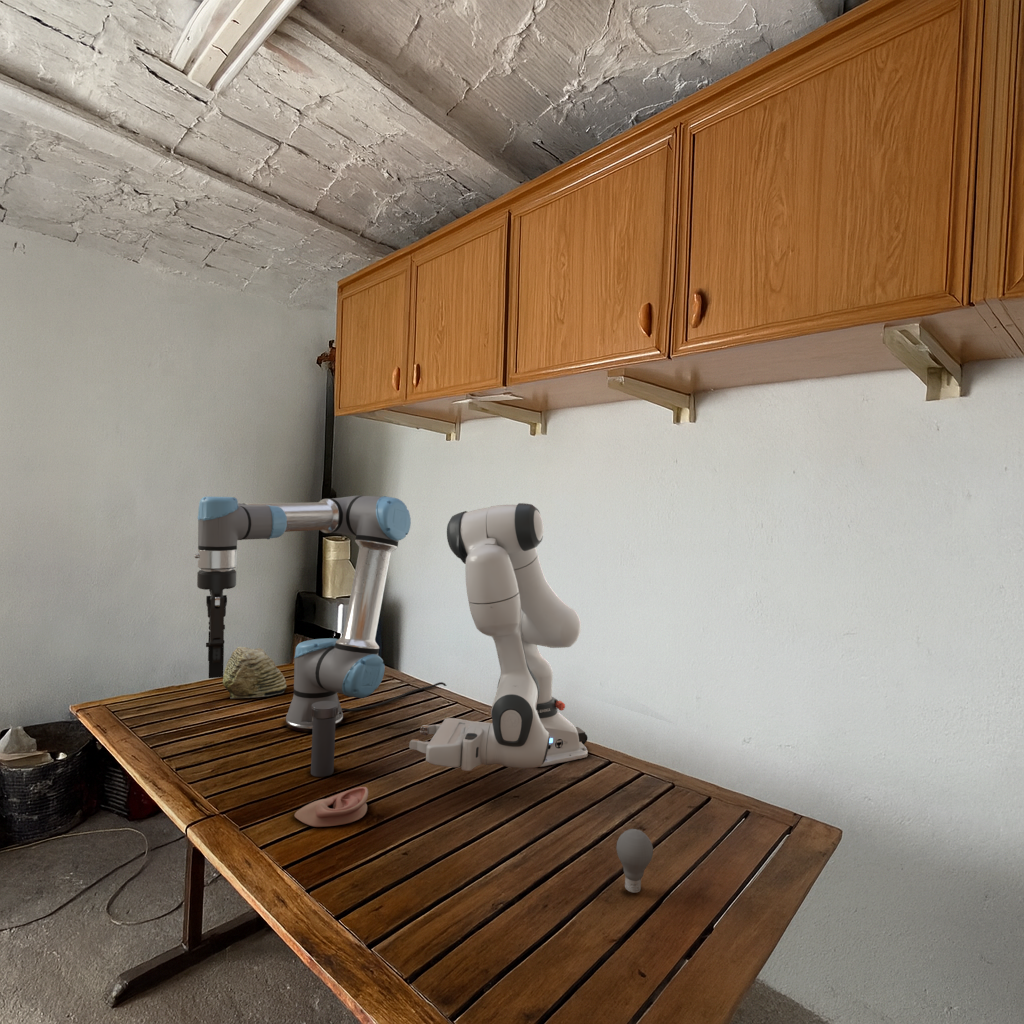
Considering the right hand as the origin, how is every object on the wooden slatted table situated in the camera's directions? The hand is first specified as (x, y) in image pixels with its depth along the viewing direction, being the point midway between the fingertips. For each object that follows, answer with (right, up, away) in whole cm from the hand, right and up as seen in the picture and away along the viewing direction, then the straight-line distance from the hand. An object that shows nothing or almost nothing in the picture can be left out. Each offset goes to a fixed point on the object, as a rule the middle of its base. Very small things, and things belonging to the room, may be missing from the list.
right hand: (415, 736), depth 143 cm
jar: (-22, -9, +3) cm, 24 cm away
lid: (-21, +6, +3) cm, 22 cm away
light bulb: (+42, -13, -37) cm, 57 cm away
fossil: (-59, -7, +55) cm, 81 cm away
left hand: (-42, +17, -8) cm, 46 cm away
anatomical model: (-14, -10, -16) cm, 24 cm away
